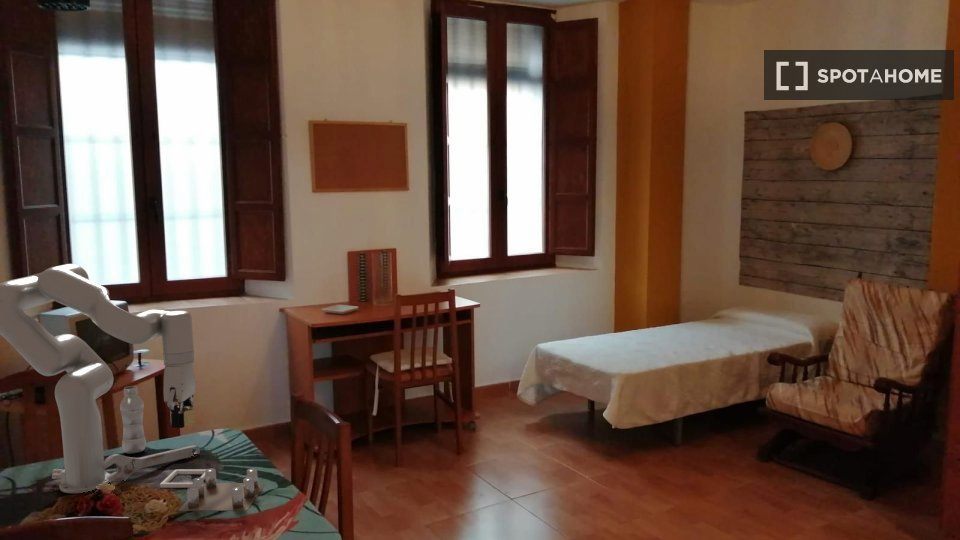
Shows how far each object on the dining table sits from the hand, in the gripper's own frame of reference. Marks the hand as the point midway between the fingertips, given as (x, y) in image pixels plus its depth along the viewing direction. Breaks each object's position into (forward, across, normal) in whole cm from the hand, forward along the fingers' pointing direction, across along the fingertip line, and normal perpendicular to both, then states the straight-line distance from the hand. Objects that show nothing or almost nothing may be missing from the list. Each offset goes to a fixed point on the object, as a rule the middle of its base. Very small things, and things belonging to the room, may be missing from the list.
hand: (182, 423), depth 202 cm
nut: (0, 0, 0) cm, 0 cm away
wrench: (+17, -10, -13) cm, 24 cm away
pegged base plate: (+16, +10, +14) cm, 24 cm away
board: (+17, +10, +14) cm, 24 cm away
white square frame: (+17, 0, 0) cm, 17 cm away
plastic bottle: (+17, -24, -25) cm, 38 cm away
